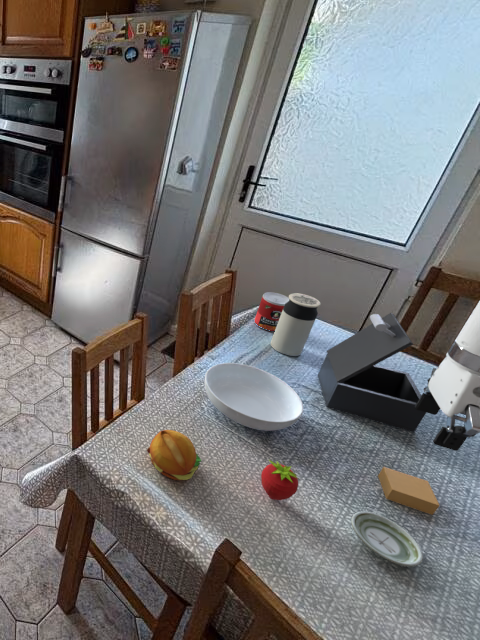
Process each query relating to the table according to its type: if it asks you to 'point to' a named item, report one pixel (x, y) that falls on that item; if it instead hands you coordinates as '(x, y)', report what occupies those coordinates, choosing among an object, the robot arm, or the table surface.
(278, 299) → the canned food
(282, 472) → the strawberry
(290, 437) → the table surface
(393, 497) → the brown rectangular block
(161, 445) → the cheeseburger
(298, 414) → the serving bowl
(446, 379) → the robot arm
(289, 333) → the travel mug
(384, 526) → the saucer
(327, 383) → the lidded storage box
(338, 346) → the lid
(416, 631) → the table surface
